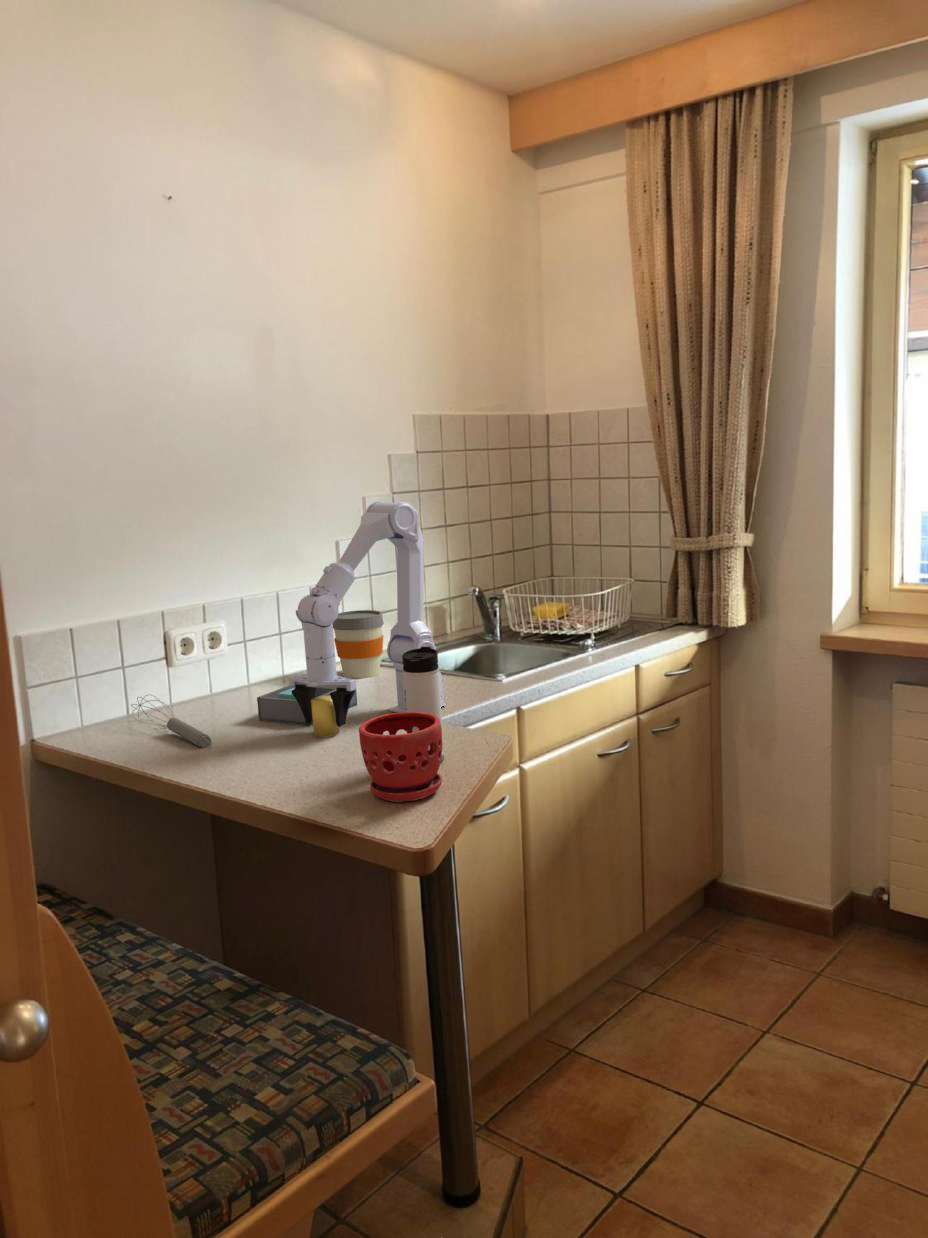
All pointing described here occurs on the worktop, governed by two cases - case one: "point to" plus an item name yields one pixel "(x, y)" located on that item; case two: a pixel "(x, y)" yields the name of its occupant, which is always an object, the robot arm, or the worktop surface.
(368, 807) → the worktop surface
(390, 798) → the plant pot
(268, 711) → the tote
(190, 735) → the kitchen whisk
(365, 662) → the reusable coffee cup
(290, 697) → the cube
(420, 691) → the travel mug
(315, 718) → the cylinder
